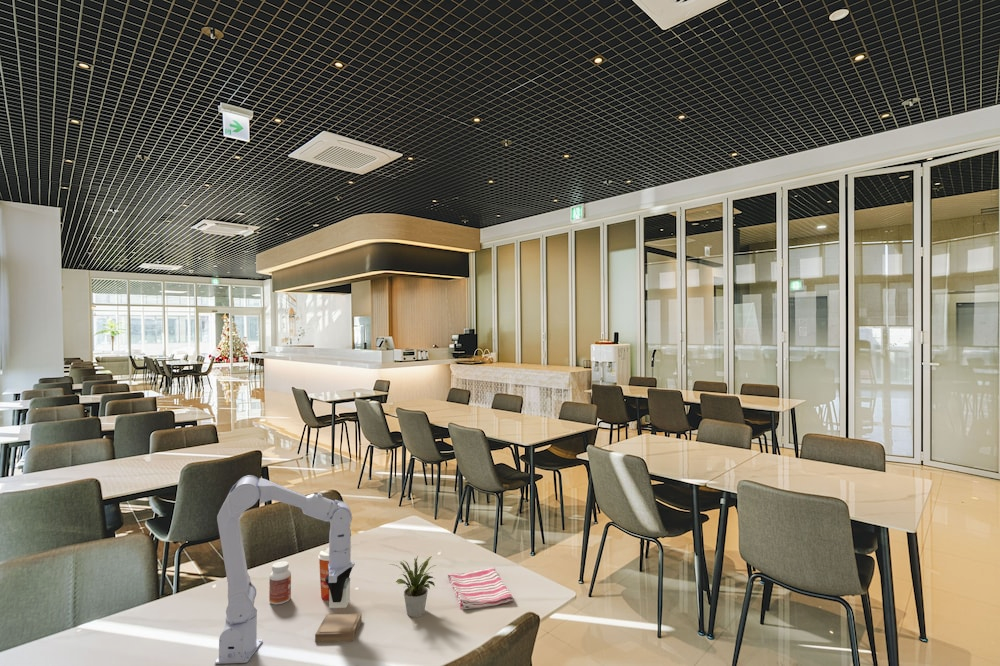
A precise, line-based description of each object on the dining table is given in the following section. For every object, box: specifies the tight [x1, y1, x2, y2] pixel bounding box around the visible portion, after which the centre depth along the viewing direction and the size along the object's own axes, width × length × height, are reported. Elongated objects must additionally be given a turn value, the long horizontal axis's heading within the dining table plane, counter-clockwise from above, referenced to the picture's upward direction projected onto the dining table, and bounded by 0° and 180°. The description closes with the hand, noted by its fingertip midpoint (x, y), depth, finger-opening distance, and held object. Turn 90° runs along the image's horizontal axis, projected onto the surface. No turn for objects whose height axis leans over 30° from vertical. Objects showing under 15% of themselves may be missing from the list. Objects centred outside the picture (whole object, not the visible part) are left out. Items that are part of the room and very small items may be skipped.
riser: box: [314, 613, 362, 643], centre depth 139 cm, size 10×10×2 cm
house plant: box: [388, 555, 437, 618], centre depth 148 cm, size 14×14×16 cm
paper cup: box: [317, 547, 329, 601], centre depth 159 cm, size 8×8×14 cm
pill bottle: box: [268, 560, 292, 605], centre depth 156 cm, size 6×6×11 cm
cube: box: [328, 577, 351, 609], centre depth 139 cm, size 5×5×6 cm
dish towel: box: [447, 567, 514, 610], centre depth 163 cm, size 17×23×4 cm
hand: (339, 597), depth 139 cm, fingers closed on cube, 4 cm apart
